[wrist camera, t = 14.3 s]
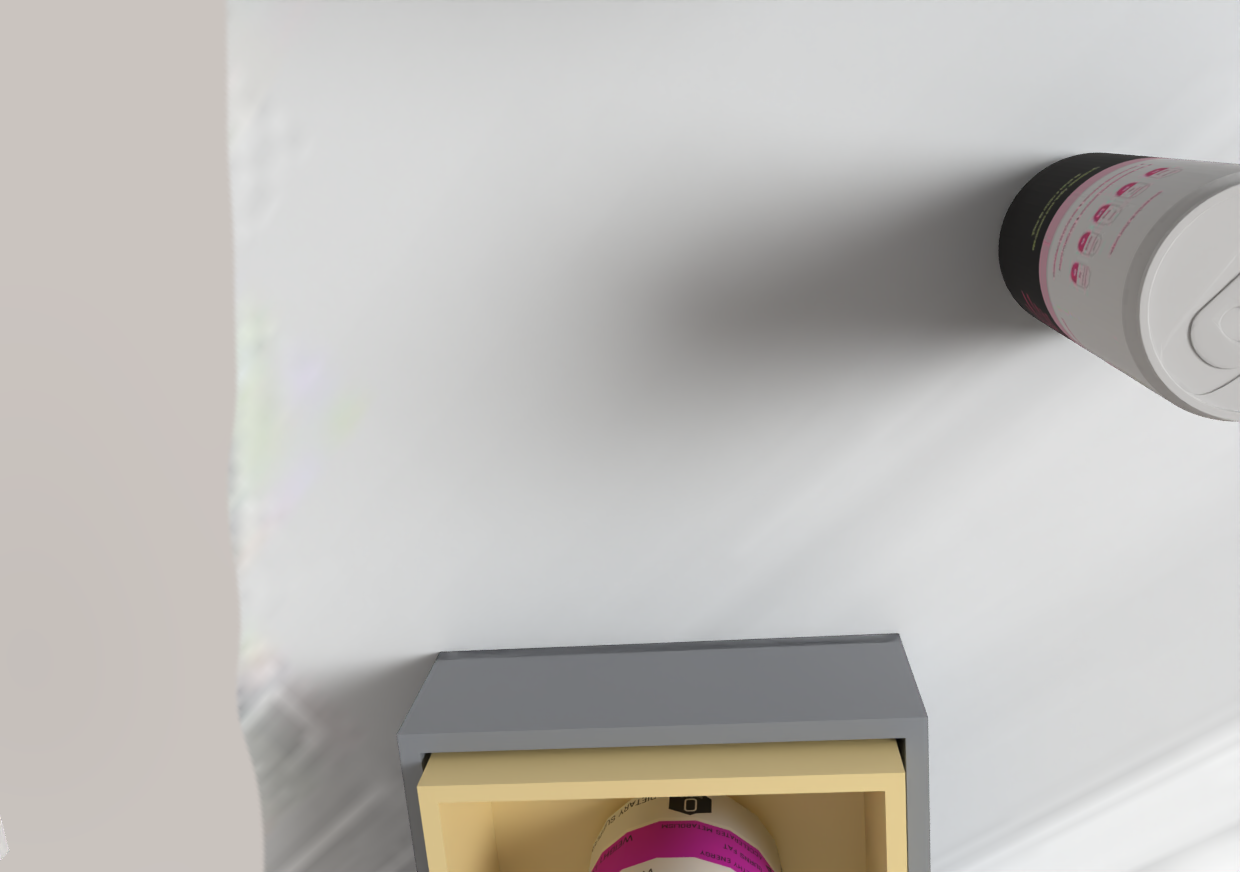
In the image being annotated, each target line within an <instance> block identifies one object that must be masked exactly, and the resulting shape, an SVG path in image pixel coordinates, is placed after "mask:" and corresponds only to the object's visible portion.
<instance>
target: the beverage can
mask: <svg viewBox="0 0 1240 872" xmlns="http://www.w3.org/2000/svg"><path fill="white" fill-rule="evenodd" d="M999 263H1000V268H1001V272H1002V276H1003V278H1004V281H1005V283H1006V286H1007V288H1008V289H1009V291H1010V293H1011V294H1012V296H1013V297H1014V299H1015V300H1016V301H1017V302H1018V304H1019V305H1020V306H1021V307H1022V308H1023V309H1024V310H1026V311H1027V312H1028V313H1029V314H1031V315H1032V316H1033V317H1035V318H1037V319H1038V320H1040V321H1041V322H1043V323H1045V324H1046V325H1048V326H1049V327H1051V328H1053V329H1054V330H1056V331H1057V332H1059V333H1061V334H1062V335H1064V336H1065V337H1067V338H1069V339H1070V340H1072V341H1073V342H1075V343H1077V344H1078V345H1080V346H1081V347H1083V348H1085V349H1086V350H1088V351H1089V352H1091V353H1093V354H1094V355H1096V356H1097V357H1099V358H1101V359H1102V360H1104V361H1105V362H1107V363H1109V364H1110V365H1112V366H1113V367H1115V368H1117V369H1118V370H1120V371H1122V372H1123V373H1125V374H1126V375H1128V376H1130V377H1131V378H1133V379H1134V380H1136V381H1138V382H1139V383H1141V384H1142V385H1144V386H1146V387H1147V388H1149V389H1150V390H1152V391H1154V392H1155V393H1157V394H1158V395H1160V396H1162V397H1163V398H1165V399H1166V400H1168V401H1170V402H1171V403H1173V404H1174V405H1176V406H1178V407H1180V408H1182V409H1184V410H1186V411H1188V412H1191V413H1193V414H1196V415H1199V416H1202V417H1206V418H1210V419H1216V420H1222V421H1240V164H1230V163H1219V162H1207V161H1195V160H1183V159H1171V158H1159V157H1147V156H1135V155H1123V154H1111V153H1087V154H1080V155H1076V156H1072V157H1069V158H1066V159H1063V160H1061V161H1058V162H1056V163H1054V164H1052V165H1050V166H1049V167H1047V168H1045V169H1044V170H1042V171H1041V172H1039V173H1038V174H1037V175H1036V176H1034V177H1033V178H1032V179H1031V180H1030V181H1029V182H1028V183H1027V184H1026V185H1025V186H1024V187H1023V188H1022V189H1021V191H1020V192H1019V193H1018V194H1017V196H1016V197H1015V199H1014V200H1013V202H1012V204H1011V205H1010V207H1009V209H1008V211H1007V213H1006V216H1005V218H1004V221H1003V224H1002V228H1001V232H1000V238H999Z"/></svg>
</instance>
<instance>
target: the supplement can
mask: <svg viewBox="0 0 1240 872" xmlns="http://www.w3.org/2000/svg"><path fill="white" fill-rule="evenodd" d="M589 872H783V870H782V866H781V862H780V858H779V854H778V850H777V846H776V842H775V840H774V839H773V837H772V836H771V835H770V833H769V832H768V830H767V829H766V828H765V826H764V825H763V824H762V822H761V821H760V819H759V818H758V817H757V816H756V815H755V814H754V813H752V812H751V811H749V810H748V809H746V808H745V807H743V806H742V805H740V804H739V803H738V802H736V801H735V800H733V799H732V798H730V797H728V796H724V795H717V796H680V797H643V798H633V799H631V800H630V801H629V802H627V803H626V804H625V805H624V806H622V807H621V808H620V809H619V810H618V811H616V812H615V813H614V814H613V815H611V816H610V817H609V818H608V819H607V821H606V822H605V824H604V826H603V828H602V830H601V831H600V833H599V835H598V837H597V839H596V840H595V842H594V844H593V849H592V855H591V860H590V866H589Z"/></svg>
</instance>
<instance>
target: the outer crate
mask: <svg viewBox="0 0 1240 872" xmlns="http://www.w3.org/2000/svg"><path fill="white" fill-rule="evenodd" d="M886 738H895V739H896V742H897V746H898V749H899V753H900V756H901V760H902V763H903V767H904V770H905V789H906V834H907V872H930V812H929V751H928V716H927V713H926V710H925V707H924V704H923V702H922V699H921V696H920V693H919V690H918V687H917V684H916V682H915V679H914V676H913V673H912V670H911V667H910V664H909V661H908V659H907V656H906V653H905V650H904V647H903V644H902V641H901V639H900V636H899V634H875V635H850V636H825V637H801V638H776V639H751V640H727V641H702V642H677V643H653V644H628V645H603V646H579V647H554V648H529V649H505V650H480V651H455V652H440V653H439V655H438V657H437V659H436V661H435V663H434V665H433V667H432V669H431V670H430V672H429V674H428V676H427V678H426V680H425V682H424V684H423V686H422V688H421V689H420V691H419V693H418V695H417V697H416V699H415V701H414V703H413V705H412V707H411V709H410V710H409V712H408V714H407V716H406V718H405V720H404V722H403V724H402V726H401V728H400V729H399V731H398V733H397V740H398V747H399V754H400V761H401V767H402V774H403V781H404V787H405V794H406V801H407V808H408V814H409V821H410V828H411V834H412V841H413V848H414V854H415V861H416V868H417V872H429V867H428V860H427V853H426V846H425V839H424V832H423V826H422V819H421V812H420V805H419V798H418V791H417V785H418V783H419V781H420V778H421V776H422V774H423V772H424V770H425V767H426V765H427V763H428V761H429V759H430V756H431V754H432V753H440V752H472V751H504V750H535V749H567V748H599V747H631V746H663V745H695V744H727V743H759V742H791V741H823V740H854V739H886Z"/></svg>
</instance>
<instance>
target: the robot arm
mask: <svg viewBox="0 0 1240 872" xmlns="http://www.w3.org/2000/svg"><path fill="white" fill-rule="evenodd" d="M8 852H9V847H8V843H7V839H6V835H5V831H4V828H3V823H2V820H1V816H0V860H1V859H2V858H3V857H4V856H5V855H6V854H7V853H8Z"/></svg>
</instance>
